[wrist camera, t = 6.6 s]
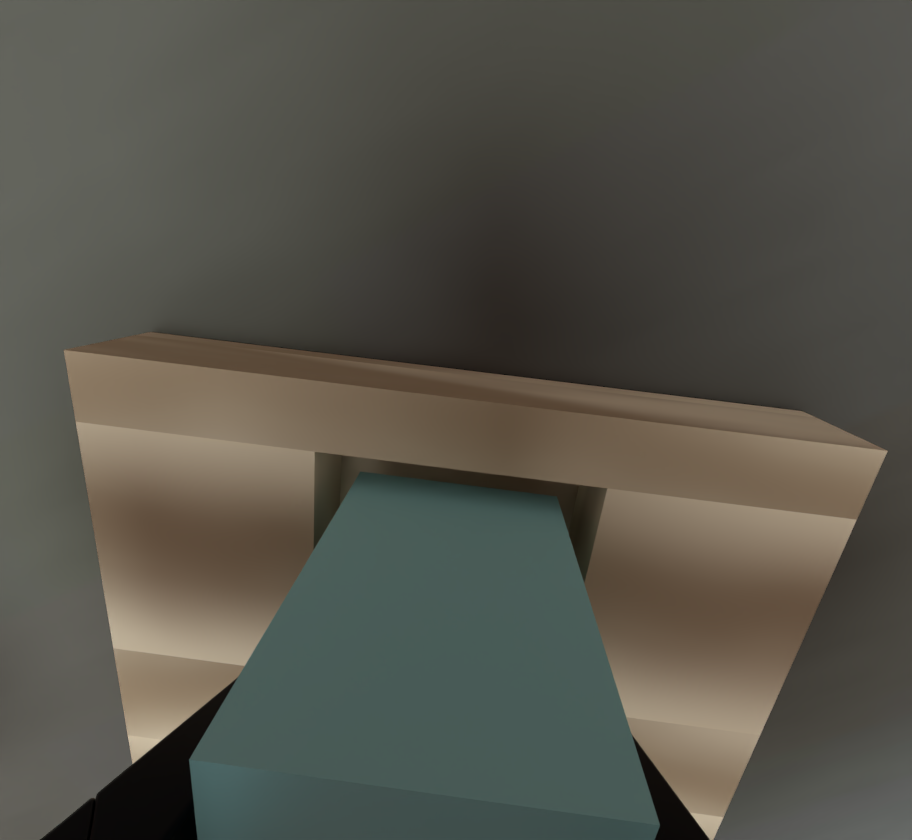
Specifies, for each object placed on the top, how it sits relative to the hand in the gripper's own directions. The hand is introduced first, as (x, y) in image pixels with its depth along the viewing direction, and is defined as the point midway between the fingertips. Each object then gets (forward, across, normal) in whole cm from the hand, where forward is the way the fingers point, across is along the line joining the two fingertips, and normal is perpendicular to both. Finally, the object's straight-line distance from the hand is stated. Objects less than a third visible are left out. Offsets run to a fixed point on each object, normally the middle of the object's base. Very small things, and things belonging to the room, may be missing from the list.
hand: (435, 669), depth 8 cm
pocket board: (+5, 0, +4) cm, 6 cm away
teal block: (+3, 0, 0) cm, 3 cm away
